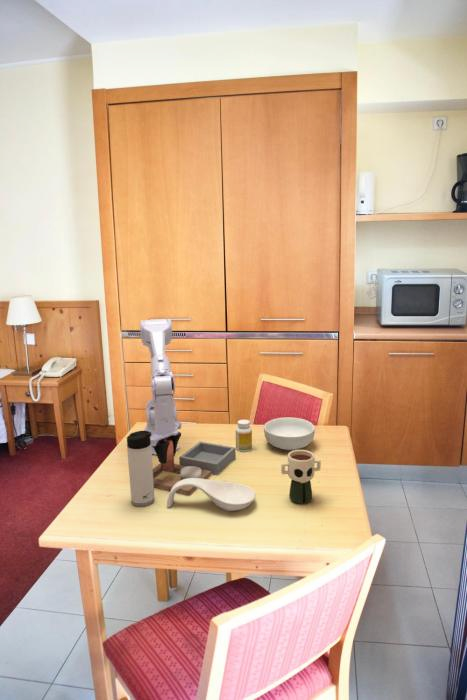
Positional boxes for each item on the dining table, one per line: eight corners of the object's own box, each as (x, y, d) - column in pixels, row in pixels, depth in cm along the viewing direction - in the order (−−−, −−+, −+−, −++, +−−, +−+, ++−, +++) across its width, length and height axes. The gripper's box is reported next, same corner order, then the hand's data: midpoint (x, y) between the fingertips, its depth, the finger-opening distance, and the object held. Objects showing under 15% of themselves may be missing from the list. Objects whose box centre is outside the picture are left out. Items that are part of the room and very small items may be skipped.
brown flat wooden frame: (138, 484, 157) (137, 471, 156) (163, 465, 168) (162, 453, 167) (189, 495, 149) (188, 482, 148) (211, 475, 161) (210, 463, 160)
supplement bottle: (232, 448, 179) (232, 421, 177) (244, 444, 183) (244, 417, 180) (243, 453, 175) (242, 425, 173) (255, 448, 179) (255, 421, 176)
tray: (179, 467, 167) (179, 457, 166) (200, 451, 178) (199, 441, 177) (217, 475, 161) (216, 464, 160) (235, 457, 172) (235, 447, 171)
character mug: (284, 508, 142) (284, 462, 139) (278, 494, 149) (277, 451, 146) (324, 503, 144) (325, 458, 141) (315, 490, 150) (316, 447, 147)
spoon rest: (256, 494, 150) (255, 471, 148) (255, 517, 138) (254, 492, 136) (171, 494, 151) (170, 470, 149) (164, 516, 140) (162, 491, 138)
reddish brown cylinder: (158, 470, 158) (156, 441, 156) (165, 464, 162) (163, 436, 159) (169, 472, 156) (168, 443, 154) (176, 466, 160) (175, 438, 158)
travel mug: (151, 508, 143) (146, 438, 139) (127, 506, 145) (122, 436, 140) (158, 496, 149) (154, 429, 145) (136, 494, 151) (131, 427, 146)
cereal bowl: (253, 445, 181) (253, 426, 180) (286, 432, 192) (286, 413, 190) (291, 461, 169) (291, 440, 167) (324, 445, 180) (325, 426, 178)
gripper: (162, 426, 147) (165, 472, 150) (189, 409, 160) (191, 451, 163) (141, 423, 150) (144, 467, 153) (169, 406, 163) (171, 448, 166)
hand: (167, 459), depth 158 cm, fingers closed on reddish brown cylinder, 4 cm apart
